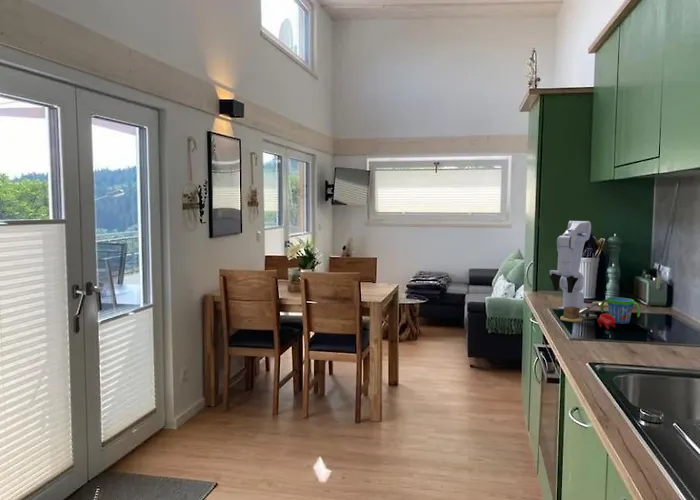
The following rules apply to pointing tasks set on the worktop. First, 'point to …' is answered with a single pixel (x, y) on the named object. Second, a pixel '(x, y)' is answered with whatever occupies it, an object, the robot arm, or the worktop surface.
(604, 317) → the red toy piece
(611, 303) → the snack cup
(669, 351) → the worktop surface
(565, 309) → the block
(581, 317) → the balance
